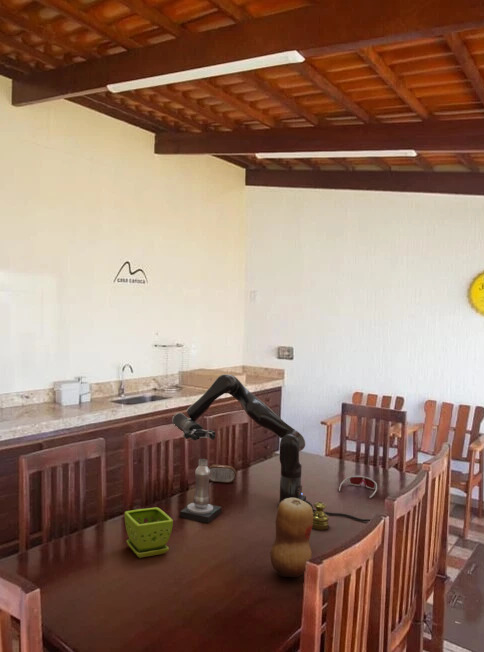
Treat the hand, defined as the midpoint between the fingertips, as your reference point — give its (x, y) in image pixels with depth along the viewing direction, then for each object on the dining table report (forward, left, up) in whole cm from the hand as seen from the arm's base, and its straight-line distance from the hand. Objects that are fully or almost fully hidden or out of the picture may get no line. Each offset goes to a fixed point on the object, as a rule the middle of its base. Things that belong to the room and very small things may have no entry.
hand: (204, 437), depth 239 cm
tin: (+5, -34, -30) cm, 46 cm away
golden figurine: (-52, -3, -30) cm, 60 cm away
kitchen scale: (-5, +11, -30) cm, 32 cm away
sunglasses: (-59, -60, -30) cm, 89 cm away
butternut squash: (-53, +43, -30) cm, 74 cm away
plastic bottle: (-5, +11, -27) cm, 29 cm away
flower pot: (-3, +52, -30) cm, 60 cm away
